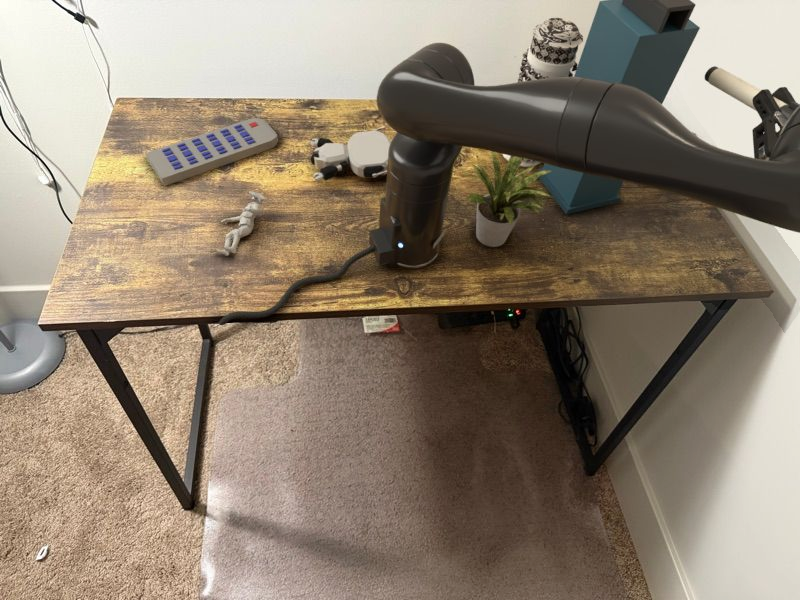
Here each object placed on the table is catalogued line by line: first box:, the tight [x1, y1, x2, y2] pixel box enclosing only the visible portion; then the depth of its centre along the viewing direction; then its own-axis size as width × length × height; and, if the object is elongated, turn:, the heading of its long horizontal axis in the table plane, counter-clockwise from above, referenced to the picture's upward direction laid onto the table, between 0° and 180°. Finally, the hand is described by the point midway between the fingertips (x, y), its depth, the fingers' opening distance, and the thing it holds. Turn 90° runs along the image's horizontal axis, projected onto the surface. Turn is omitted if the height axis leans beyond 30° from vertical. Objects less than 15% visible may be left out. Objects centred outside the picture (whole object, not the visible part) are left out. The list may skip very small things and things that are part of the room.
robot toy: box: [309, 125, 392, 182], centre depth 102 cm, size 12×4×15 cm
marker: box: [704, 65, 800, 120], centre depth 78 cm, size 16×2×3 cm, turn 18°
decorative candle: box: [502, 17, 584, 168], centre depth 100 cm, size 9×9×25 cm
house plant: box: [459, 151, 554, 248], centre depth 88 cm, size 14×14×16 cm
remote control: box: [144, 117, 279, 187], centre depth 103 cm, size 8×23×2 cm, turn 125°
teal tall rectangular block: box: [536, 0, 701, 215], centre depth 90 cm, size 11×11×35 cm
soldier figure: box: [215, 191, 267, 257], centre depth 91 cm, size 8×5×12 cm
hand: (768, 92), depth 76 cm, fingers closed on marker, 2 cm apart
